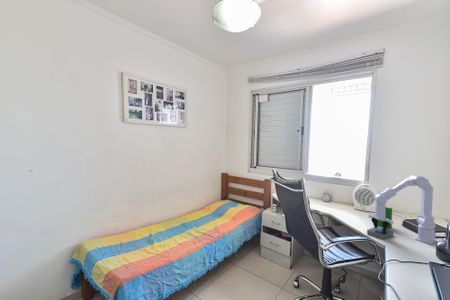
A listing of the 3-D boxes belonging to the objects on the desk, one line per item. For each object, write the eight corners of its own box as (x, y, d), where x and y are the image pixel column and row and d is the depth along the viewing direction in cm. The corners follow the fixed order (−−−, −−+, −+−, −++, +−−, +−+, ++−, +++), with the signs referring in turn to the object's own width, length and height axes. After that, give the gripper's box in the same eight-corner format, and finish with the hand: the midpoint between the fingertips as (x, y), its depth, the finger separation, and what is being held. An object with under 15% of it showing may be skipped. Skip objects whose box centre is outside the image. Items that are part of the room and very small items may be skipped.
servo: (379, 232, 145) (379, 224, 145) (385, 234, 142) (385, 226, 142) (374, 234, 142) (374, 226, 142) (380, 237, 139) (380, 228, 139)
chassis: (377, 230, 150) (377, 226, 150) (393, 235, 141) (393, 231, 141) (367, 233, 144) (367, 229, 143) (383, 239, 135) (383, 235, 135)
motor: (394, 227, 154) (394, 202, 154) (387, 229, 151) (387, 203, 151) (380, 222, 164) (380, 198, 164) (373, 224, 161) (373, 200, 160)
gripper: (366, 209, 147) (366, 227, 147) (389, 215, 134) (389, 235, 134) (371, 208, 150) (371, 225, 150) (394, 213, 137) (394, 233, 137)
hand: (380, 230), depth 142 cm, fingers open, 5 cm apart
